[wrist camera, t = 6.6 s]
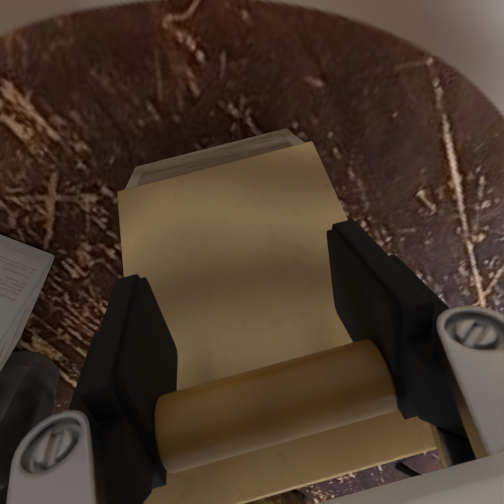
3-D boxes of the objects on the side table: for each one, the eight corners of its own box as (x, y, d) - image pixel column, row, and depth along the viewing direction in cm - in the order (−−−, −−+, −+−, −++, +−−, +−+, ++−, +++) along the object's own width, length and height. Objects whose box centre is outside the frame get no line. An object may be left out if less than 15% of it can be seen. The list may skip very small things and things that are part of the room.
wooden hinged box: (312, 290, 28) (333, 330, 24) (194, 321, 27) (196, 367, 23) (286, 127, 22) (308, 145, 18) (134, 166, 21) (122, 193, 17)
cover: (438, 445, 12) (547, 446, 7) (155, 525, 11) (48, 589, 6) (311, 155, 18) (318, 42, 13) (125, 203, 17) (58, 107, 12)
